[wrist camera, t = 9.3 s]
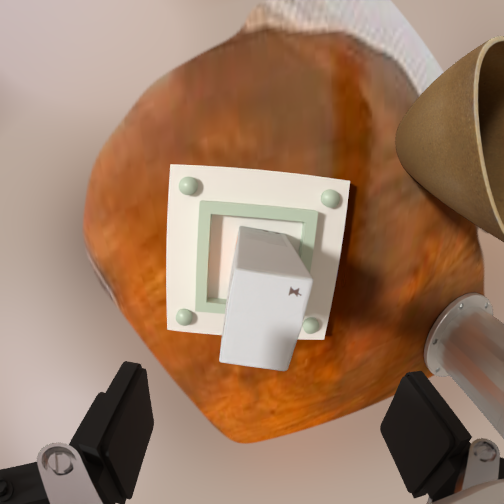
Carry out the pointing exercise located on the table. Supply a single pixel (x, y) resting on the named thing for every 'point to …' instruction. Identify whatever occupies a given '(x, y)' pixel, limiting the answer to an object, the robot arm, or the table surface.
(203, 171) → the baseplate
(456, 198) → the plant pot
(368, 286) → the table surface
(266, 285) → the skincare box
